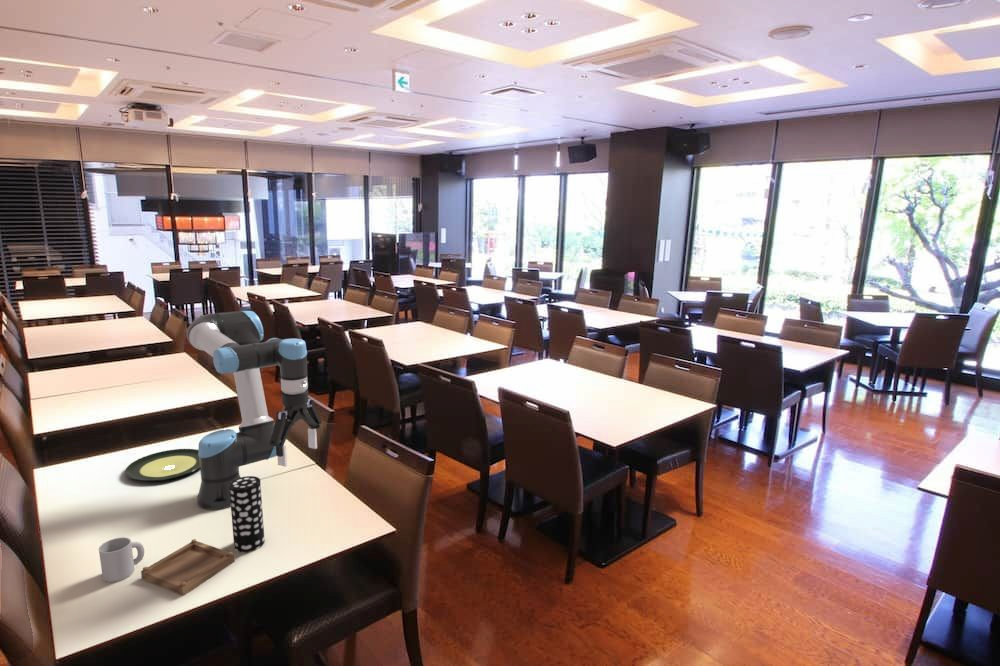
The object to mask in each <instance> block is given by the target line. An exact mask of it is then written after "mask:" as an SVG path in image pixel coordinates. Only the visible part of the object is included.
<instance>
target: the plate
mask: <svg viewBox="0 0 1000 666" xmlns="http://www.w3.org/2000/svg"><path fill="white" fill-rule="evenodd" d="M198 451H199V449H196V448H195V449H194V448H175V449H170V450H163V451H157V452H155V453H151V454H148V455H146V456H142V457H140V458H138V459H136V460H134V461H132V462H131V463H130V464H128V466H127V467H126V468H125V470H124V475H125V476H126V477H127V478H129V479H131V480H135V481H138V482H139V481H141V482H159V481H166V480H171V479H176V478H180V477H182V476H185V475H188V474H191V473H193V472H195V471H197V470H199V469H200V461H199V456H198ZM168 465H175V468H174V469H171V468H170V469H171V470H164V468H165V466H168ZM162 468H163V469H162Z"/></svg>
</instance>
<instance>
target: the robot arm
mask: <svg viewBox="0 0 1000 666" xmlns="http://www.w3.org/2000/svg"><path fill="white" fill-rule="evenodd" d="M186 339H187V341H188V343H189V344H190V345H191V346H192V347H193V348H194V349H196V350H199V351H204V352H205V353H207V354H208V355H209V356H210V357H212V363H213V366H214V368H215V371H216V372H217V373H218V374H223V375H224V374H233V377H234V381H235V388H236V393H237V400H238V405H239V411H240V416H241V423H240V424H239V425H238V432H236V431H235V430H234V429H219V430H216V431H213V432H210V433H208V434H206V435H205V436H203V437H202V438H201V439H200V441H199V442H198V450H199V451H198V456H199V461H200V468H199V469H200V470H199V471H200V479H201V480H200V486H199V491H198V493H197V497H196V501H197V505H198V507H200V508H202V509H206V510H220V509H222V510H223V509H226V508H229V507H230V508H231V503H230V492H229V484H230V482H232V481H233V480H235V479H237V478H241V477H242V476H241V475H240V471H239V470H240V469H239V468H240V467H242V466H243V467H244V466H246V465H251V464H254V463H258V462H261V461H265V460H266V461H268V460H270V459H272V458H274V457H277V465H278V466H281V467H287V466H288V459H287V445H286V444H285V443H286V440H287V438H288V436H289V433H290V432H291V430H292V427H293V426H294V425H295V423H296V422H298V421H300V420H303V421H304V422H305V423H306V424H307V426H308V428H307V440H308V441H307V443H308V448H310V449H313V450H317V449H318V439H317V438H318V429H320V428H321V424H322V420H321V417H320V415H319V413H318V411H317V408H316V406H315V401H314V399H309V390H308V388H309V382H308V356H307V355H308V350H307V345H306V344H307V343H306V341H305V340H303V339H302V338H285V339H282V338H278V337H272V338H269V339H267V340H266V341H264V342H261V341H262V340H263V339H264V327H263V324H262V321H261V319H260V317H259V315H257V314H256V312H254V311H253V310H236V311H227V312H226V311H225V312H215V313H207V314H204V315H202V316H199V317H197V318H196V319H194V320H193V321H192V322H191V323H190V324H189V325H188V328H187V330H186ZM274 366H278V367H279V370H280V371H279V372H280V390H281V391H282V392H281V403H282V405H283V407H284V409H283V411H282V412H281V411H277V412H276V416H275V421H274V419H273V417H272V416H271V417H270V416H269V413H268V408H267V403H266V398H265V392H264V385H263V380H262V377H261V376H262V375H261V370H260V369H261V368H268V367H274Z"/></svg>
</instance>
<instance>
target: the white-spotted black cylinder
mask: <svg viewBox="0 0 1000 666" xmlns="http://www.w3.org/2000/svg"><path fill="white" fill-rule="evenodd" d="M240 477H241V478H237V479H235V480H233V481H232V482H230V484H229V492H230V503H231V506H230V512H231V513H230V514H231V515H230V516H231V525H232V526H231V527H232V537H233V547H234V550H235V551H236V552H239V553H250V552H255V551H257V550H258V549H260V548H262V547H263V545H265V542H266V541H265V540H266V539H265V530H264V529H265V527H264V513H263V500H262V486H261V485H262V484H261V479H260V477H258V476H254V475H253V476H252V475H249V476H240Z"/></svg>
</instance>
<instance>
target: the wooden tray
mask: <svg viewBox="0 0 1000 666" xmlns="http://www.w3.org/2000/svg"><path fill="white" fill-rule="evenodd" d="M235 561H236V560H235V554H234V553H233V552H232V551H227V550H224V549H221V548H219V547H215V546H213V545H209V544H206V543H204V542H201V541H197V539H195V538H193V539H191V542H189V543H187V544H186V545H184V546H182V547H180V548H178V549H177V550H175V551H173V552H172V553H170V554H168V555H166V556H164V557H163V558H161V559H160V560H158V561H156V562H154V563H153V564H151V565H149V566H144V567H143V568H142V570H141V571H140V573H141V579H142V580H144V581H146V582H149V583H150V584H154V585H156V586H159V587H161V588H162V589H163V588H164V589H166V590H168V591H170V592H173V593H176V594H178V595H180V596H186V595H187V594H189V593H190V592H191V591H193V590H195V589H196V588H198V587H199V586H200V585H202V584H203V583H205V582H207V581H208V580H209V579H210V578H212V577H214V576H216V575H217V574H219V573H220V572H221V571H223V570H225V569H226V568H228V567H229V566H231V565H232V564H233V563H235Z"/></svg>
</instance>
